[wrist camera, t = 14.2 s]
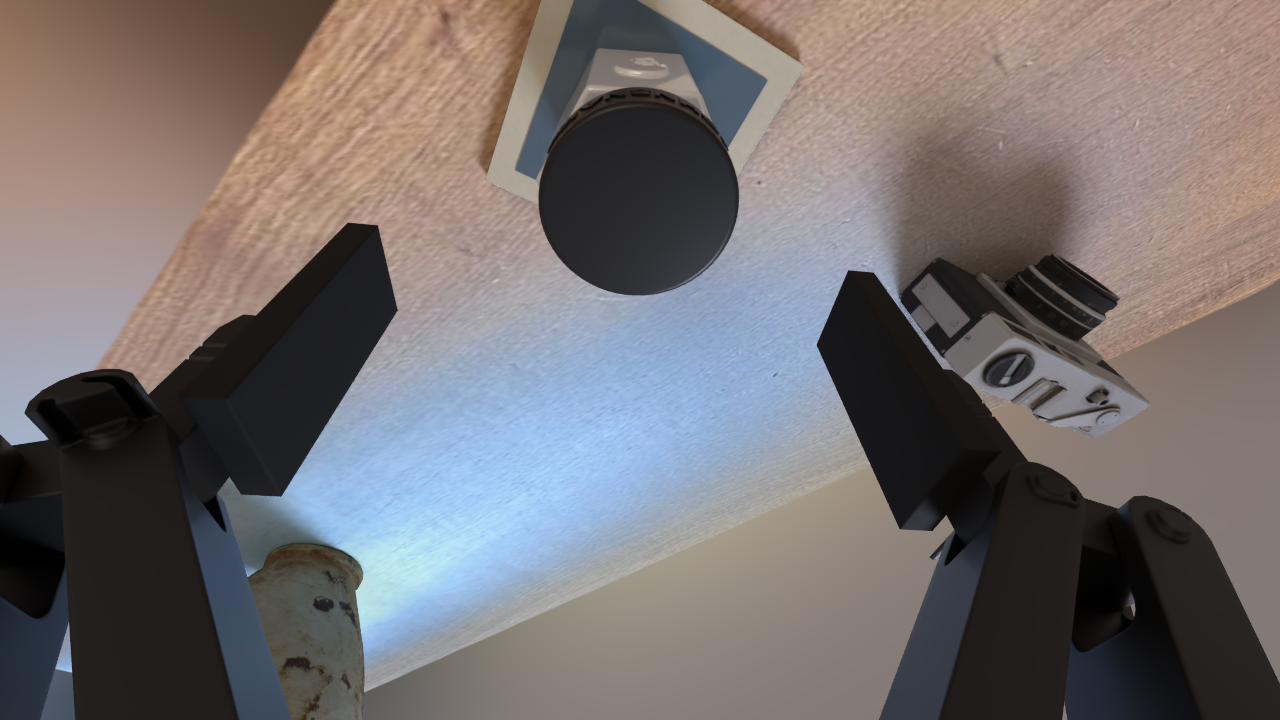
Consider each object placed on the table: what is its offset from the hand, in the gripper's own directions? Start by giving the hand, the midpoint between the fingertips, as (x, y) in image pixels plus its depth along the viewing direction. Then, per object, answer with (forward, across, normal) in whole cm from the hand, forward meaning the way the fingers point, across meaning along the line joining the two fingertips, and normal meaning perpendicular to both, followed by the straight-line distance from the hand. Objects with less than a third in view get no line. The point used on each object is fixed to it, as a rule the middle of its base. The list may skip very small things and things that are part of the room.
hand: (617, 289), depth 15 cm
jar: (+19, +1, -1) cm, 19 cm away
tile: (+20, +1, -1) cm, 20 cm away
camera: (+20, +30, -10) cm, 37 cm away
